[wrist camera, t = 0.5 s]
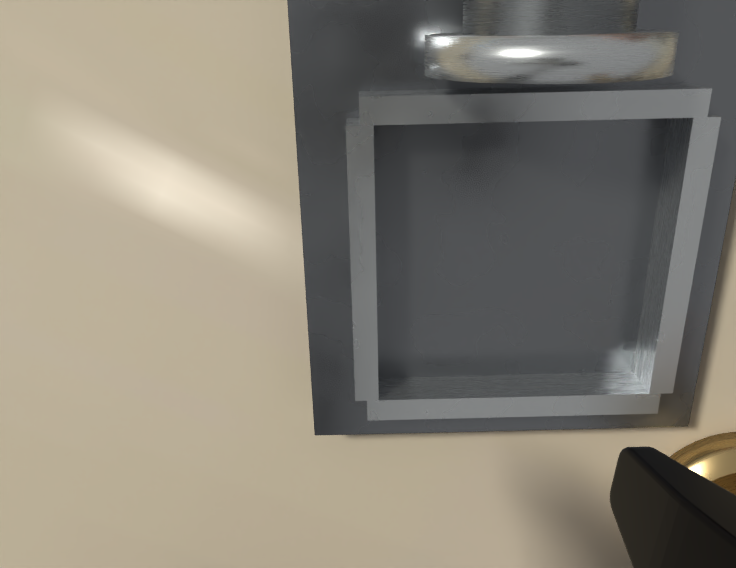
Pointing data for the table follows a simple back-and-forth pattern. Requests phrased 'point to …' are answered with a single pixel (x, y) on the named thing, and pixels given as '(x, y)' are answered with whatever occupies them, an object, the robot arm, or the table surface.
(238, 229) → the table surface
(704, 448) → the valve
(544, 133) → the socket plate
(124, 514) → the table surface
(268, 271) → the table surface
